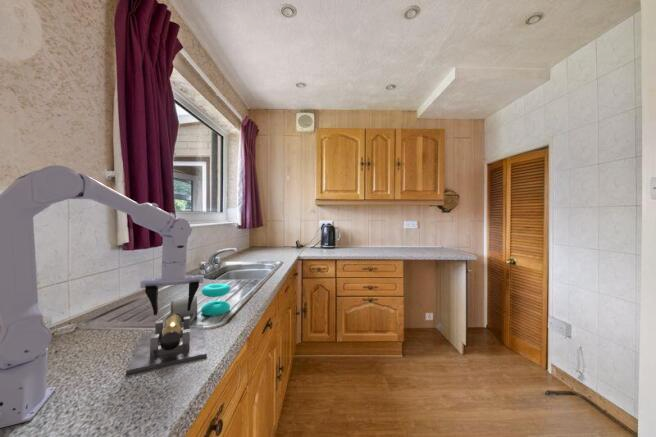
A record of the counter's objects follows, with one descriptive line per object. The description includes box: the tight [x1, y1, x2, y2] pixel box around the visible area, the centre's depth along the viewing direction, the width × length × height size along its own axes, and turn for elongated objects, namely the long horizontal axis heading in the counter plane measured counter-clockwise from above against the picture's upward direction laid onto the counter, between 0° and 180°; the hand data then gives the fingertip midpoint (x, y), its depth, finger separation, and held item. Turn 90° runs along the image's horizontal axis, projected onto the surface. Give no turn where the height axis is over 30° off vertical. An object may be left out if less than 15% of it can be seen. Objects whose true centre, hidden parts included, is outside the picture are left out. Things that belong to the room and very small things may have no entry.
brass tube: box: [160, 313, 183, 350], centre depth 68 cm, size 16×4×4 cm, turn 29°
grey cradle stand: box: [125, 316, 208, 376], centre depth 68 cm, size 21×16×6 cm
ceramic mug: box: [170, 295, 198, 325], centre depth 87 cm, size 11×8×8 cm
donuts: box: [200, 282, 231, 317], centre depth 96 cm, size 10×10×10 cm
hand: (172, 311), depth 68 cm, fingers open, 7 cm apart
